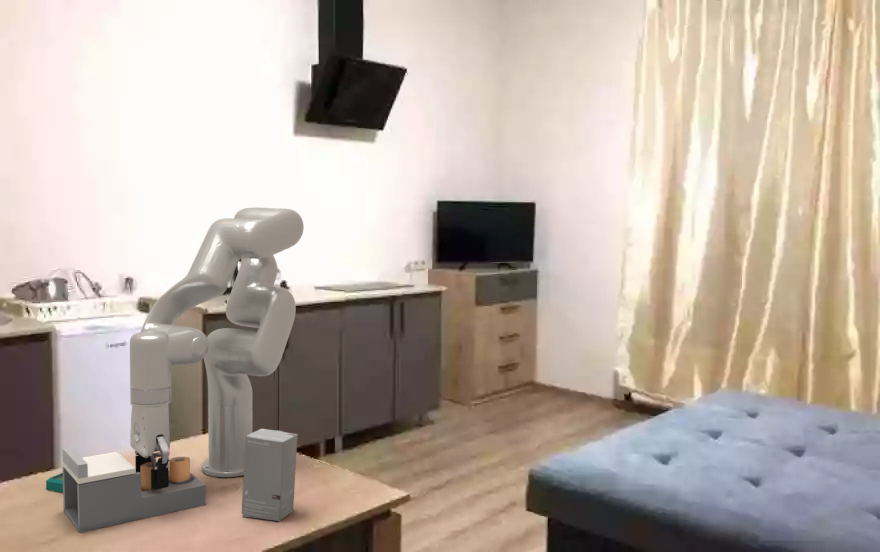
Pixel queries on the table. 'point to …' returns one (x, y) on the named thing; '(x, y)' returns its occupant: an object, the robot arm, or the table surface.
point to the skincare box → (269, 474)
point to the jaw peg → (146, 476)
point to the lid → (95, 466)
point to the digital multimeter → (55, 483)
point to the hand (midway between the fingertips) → (151, 480)
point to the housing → (130, 497)
